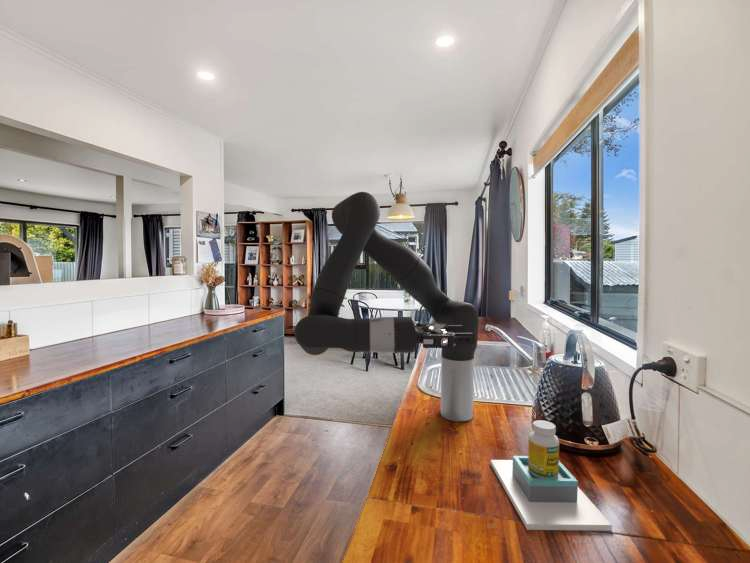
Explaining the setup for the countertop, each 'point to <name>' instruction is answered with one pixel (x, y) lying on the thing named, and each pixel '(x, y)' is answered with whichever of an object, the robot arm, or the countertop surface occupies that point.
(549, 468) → the supplement bottle
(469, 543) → the countertop surface
